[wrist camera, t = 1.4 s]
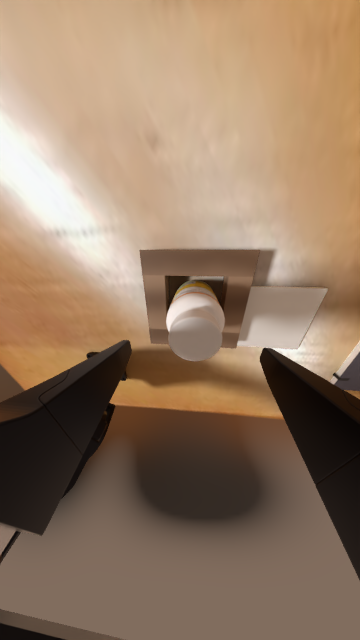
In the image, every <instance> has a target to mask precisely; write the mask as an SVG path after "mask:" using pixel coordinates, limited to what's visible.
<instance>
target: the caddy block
mask: <svg viewBox="0 0 360 640" xmlns="http://www.w3.org/2000/svg"><path fill="white" fill-rule="evenodd" d="M259 253H260V250H140V258H141V266H142V274H143V282H144V290H145V298H146V307H147V315H148V323H149V331H150V339H151V343H154V344H169V341H168V335H169V331H168V328H167V324H166V318H167V313H168V310H169V308H170V302H169V276H224V280H223V286H222V293H221V300H220V306H221V308H222V310H223V313H224V317H225V324H224V328H223V331H222V345H221V347H222V348H236V347H237V343H238V339H239V334H240V330H241V326H242V322H243V318H244V314H245V310H246V306H247V302H248V298H249V294H250V289H251V285H252V281H253V277H254V273H255V269H256V265H257V261H258V257H259Z"/></svg>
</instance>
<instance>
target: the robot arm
mask: <svg viewBox="0 0 360 640" xmlns="http://www.w3.org/2000/svg"><path fill="white" fill-rule="evenodd" d="M131 352H132V349H131V345H130V341H129V340H123V341H121V342H119V343H117V344H115V345H113V346H111V347H109V348H108V349H106V350H104V351H102V352H100V353H88V354H87V358H88V359H87V360H85V361H83V362H81V363H79V364H77V365H76V366H74V367H72V368H70V369H68V370H66V371H64V372H62V373H60V374H59V375H57V376H55V377H53V378H51V379H49V380H47V381H45V382H43V383H40V384H38V385H36V386H34V387H32V388H30V389H28V390H26V391H24V392H22V393H19V394H17V395H15V396H13V397H11V398H9V399H7V400H5V401H2V402H1V403H0V563H1V562H2V560H3V558H4V557H5V556H6V554H7V553H8V551H9V549H10V548H11V546H12V545H13V543H14V542H15V540H16V539H17V537H18V536H19V534H20V533H21V532H24V533H29V534H34V535H40V536H42V535H43V533H44V531H45V529H46V528H47V526H48V524H49V522H50V520H51V518H52V516H53V514H54V511H55V510H56V508H57V506H58V504H59V501H60V500H61V499H62V498H63V497H64V496H65V495H66V493H68V491H69V490H70V489H71V488H72V487H73V486H74V484H75V483H76V481H77V479H78V477H79V475H80V473H81V471H82V469H83V468H84V466H85V464H86V462H87V460H88V459H89V458H90V457H91V456H92V455H93V454H94V452H95V451H96V450H97V449H98V447H99V446H100V444H101V442H102V441H103V439H104V437H105V434H106V432H107V429H108V426H109V423H110V420H111V418H112V415H113V412H114V408H115V405H114V404H111V403H109V402H110V400H111V398H112V396H113V394H114V392H115V390H116V388H117V386H118V384H119V382H120V380H122V381H125V380H126V379H127V376H126V372H125V369H126V366H127V363H128V360H129V358H130V355H131ZM260 363H261V365H262V368H263V371H264V374H265V377H266V380H267V383H268V385H269V387H270V389H271V391H272V394H273V396H274V398H275V400H276V402H277V404H278V406H279V409H280V411H281V413H282V415H283V417H284V419H285V421H286V424H287V426H288V428H289V430H290V432H291V434H292V436H293V438H294V441H295V442H296V445H297V447H298V449H299V451H300V453H301V456H302V458H303V460H304V462H305V464H306V466H307V468H308V471H309V473H310V475H311V477H312V479H313V481H314V483H315V484H316V488H317V490H318V492H319V494H320V496H321V499H322V501H323V503H324V505H325V507H326V509H327V511H328V514H329V516H330V518H331V520H332V522H333V524H334V526H335V528H336V530H337V533H338V535H339V537H340V539H341V541H342V543H343V546H344V548H345V550H346V552H347V554H348V556H349V558H350V560H351V562H352V565H353V567H354V569H355V571H356V573H357V575H358V578H359V580H360V399H358V398H356V397H355V396H353V395H351V394H349V393H348V392H346V391H344V390H341V388H339V387H337V386H335V385H334V384H332V383H330V382H328V381H327V380H325V379H323V378H322V377H320V376H318V375H316V374H315V373H313V372H311V371H309V370H308V369H306V368H304V367H303V366H301V365H299V364H297V363H296V362H294V361H292V360H290V359H289V358H287V357H285V356H283V355H282V354H280V353H278V352H277V351H275V350H273V349H271V348H264V349H263V350H262V353H261V356H260ZM0 640H124V639H120V638H116V637H112V636H108V635H104V634H99V633H96V632H91V631H87V630H83V629H79V628H75V627H71V626H67V625H63V624H59V623H54V622H50V621H46V620H42V619H38V618H34V617H30V616H25V615H22V614H18V613H14V612H9V611H5V610H1V609H0Z"/></svg>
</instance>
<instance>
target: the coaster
mask: <svg viewBox="0 0 360 640" xmlns="http://www.w3.org/2000/svg"><path fill="white" fill-rule="evenodd" d="M327 291H328V288H324V287H276V286H251V289H250V294H249V298H248V302H247V306H246V310H245V314H244V318H243V322H242V326H241V330H240V334H239V339H238V343H237V346H248V347H266V348H283V349H298V347H299V345H300V343H301V341H302V339H303V337H304V335H305V333H306V331H307V329H308V328H309V326H310V324H311V322H312V320H313V318H314V316H315V314H316V312H317V310H318V308H319V306H320V304H321V302H322V300H323V298H324V296H325V294H326V292H327Z"/></svg>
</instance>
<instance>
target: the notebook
mask: <svg viewBox="0 0 360 640" xmlns="http://www.w3.org/2000/svg"><path fill="white" fill-rule="evenodd" d="M330 383H332V384H334V385H335V386H337V387H339V388H341V390H353V391H360V341H359V342H358V344H357V345H356V347H355V348H354V349H353V351H352V352H351V353H350V355H349V356H348V357H347V359H346V360H345V361H344V363H343V364H342V365H341V367H340V368H339V369H338V371H337V372H336V373H334V374H333V377H332V379H331V381H330Z"/></svg>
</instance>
